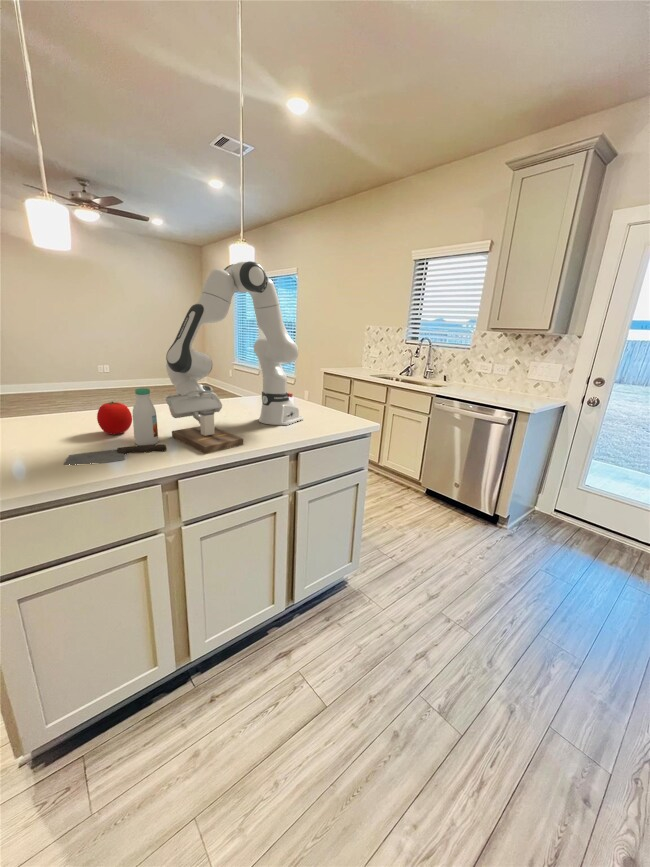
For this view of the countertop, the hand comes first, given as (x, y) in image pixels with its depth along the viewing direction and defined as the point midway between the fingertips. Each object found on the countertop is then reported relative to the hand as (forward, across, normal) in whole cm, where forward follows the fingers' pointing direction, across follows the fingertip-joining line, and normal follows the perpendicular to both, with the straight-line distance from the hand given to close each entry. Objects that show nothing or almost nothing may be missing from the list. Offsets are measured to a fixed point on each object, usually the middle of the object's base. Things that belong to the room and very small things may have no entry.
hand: (204, 422), depth 135 cm
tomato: (-14, -22, +24) cm, 36 cm away
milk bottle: (-2, -18, +12) cm, 22 cm away
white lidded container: (+4, 0, +1) cm, 4 cm away
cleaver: (+4, -30, +7) cm, 31 cm away
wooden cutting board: (+6, 0, +4) cm, 7 cm away
